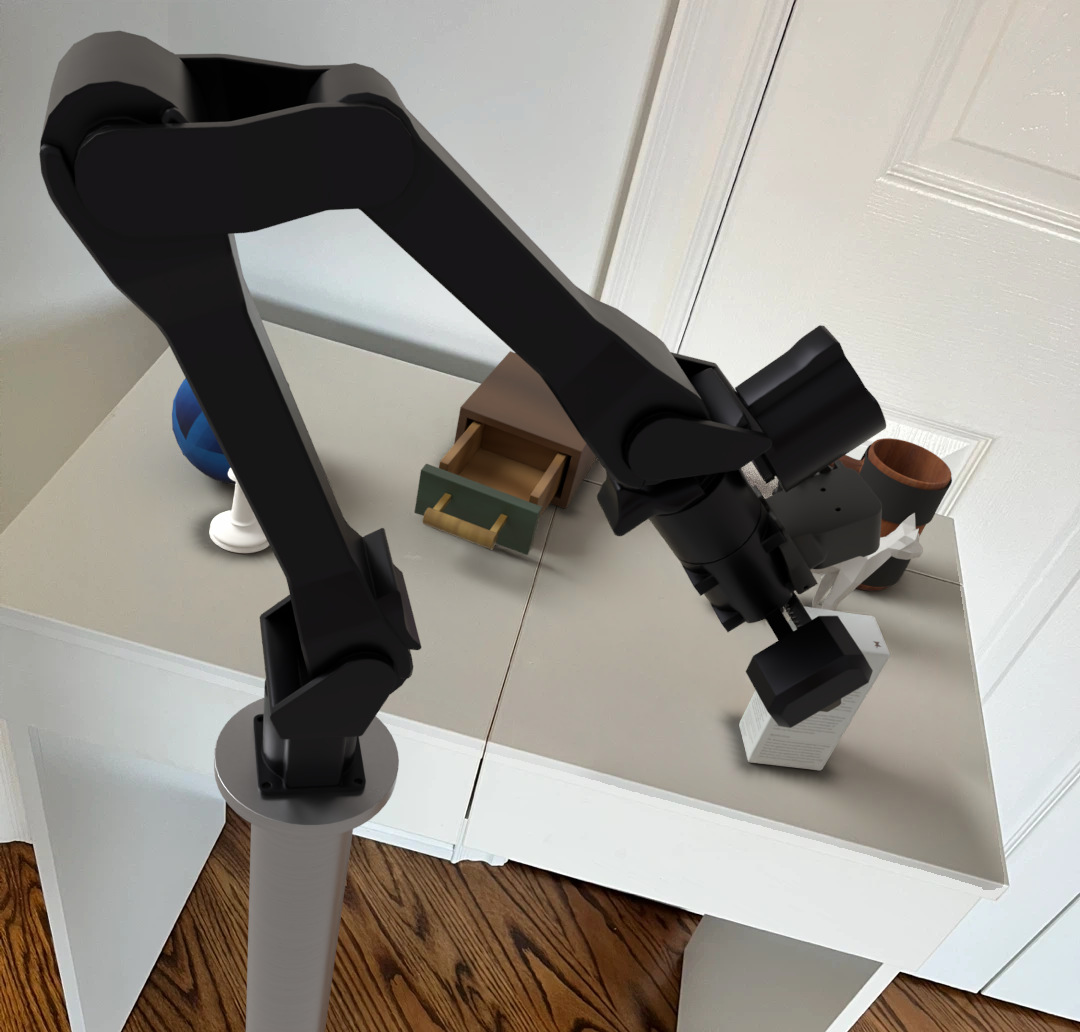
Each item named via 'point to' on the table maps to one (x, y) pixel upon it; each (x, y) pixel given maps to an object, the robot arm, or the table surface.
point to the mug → (900, 493)
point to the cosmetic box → (823, 729)
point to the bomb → (197, 436)
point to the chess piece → (238, 526)
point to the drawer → (491, 488)
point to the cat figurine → (866, 565)
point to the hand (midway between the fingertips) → (804, 658)
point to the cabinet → (528, 418)
